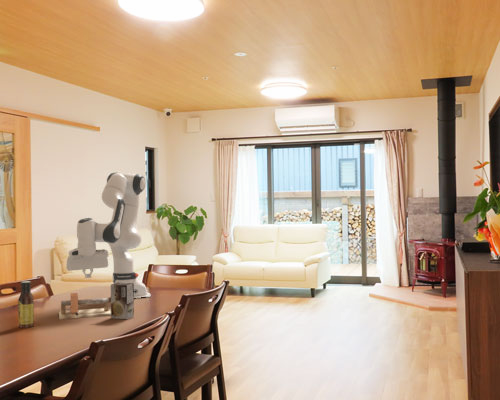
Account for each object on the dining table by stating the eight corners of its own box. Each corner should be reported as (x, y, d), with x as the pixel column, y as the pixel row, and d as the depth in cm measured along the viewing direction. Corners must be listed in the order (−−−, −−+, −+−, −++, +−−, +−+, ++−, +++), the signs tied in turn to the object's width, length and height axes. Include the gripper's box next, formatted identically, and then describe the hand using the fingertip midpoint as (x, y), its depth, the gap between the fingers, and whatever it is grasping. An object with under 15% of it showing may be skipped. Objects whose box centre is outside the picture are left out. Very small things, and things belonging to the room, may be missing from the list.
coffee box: (134, 316, 254) (134, 283, 254) (127, 319, 248) (127, 284, 248) (117, 315, 257) (117, 282, 257) (110, 318, 251) (110, 284, 251)
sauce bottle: (21, 325, 237) (21, 280, 237) (35, 324, 237) (35, 280, 237) (16, 328, 230) (16, 282, 230) (30, 328, 231) (31, 282, 231)
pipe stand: (108, 309, 271) (108, 295, 271) (112, 315, 258) (112, 299, 258) (58, 313, 262) (58, 298, 262) (59, 319, 249) (59, 303, 249)
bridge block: (76, 309, 262) (77, 292, 262) (77, 312, 255) (77, 295, 255) (70, 309, 261) (70, 293, 261) (71, 312, 254) (71, 295, 254)
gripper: (107, 248, 276) (108, 274, 276) (65, 251, 269) (66, 278, 269) (108, 249, 270) (110, 276, 271) (66, 252, 263) (67, 280, 263)
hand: (88, 277), depth 270 cm, fingers closed
